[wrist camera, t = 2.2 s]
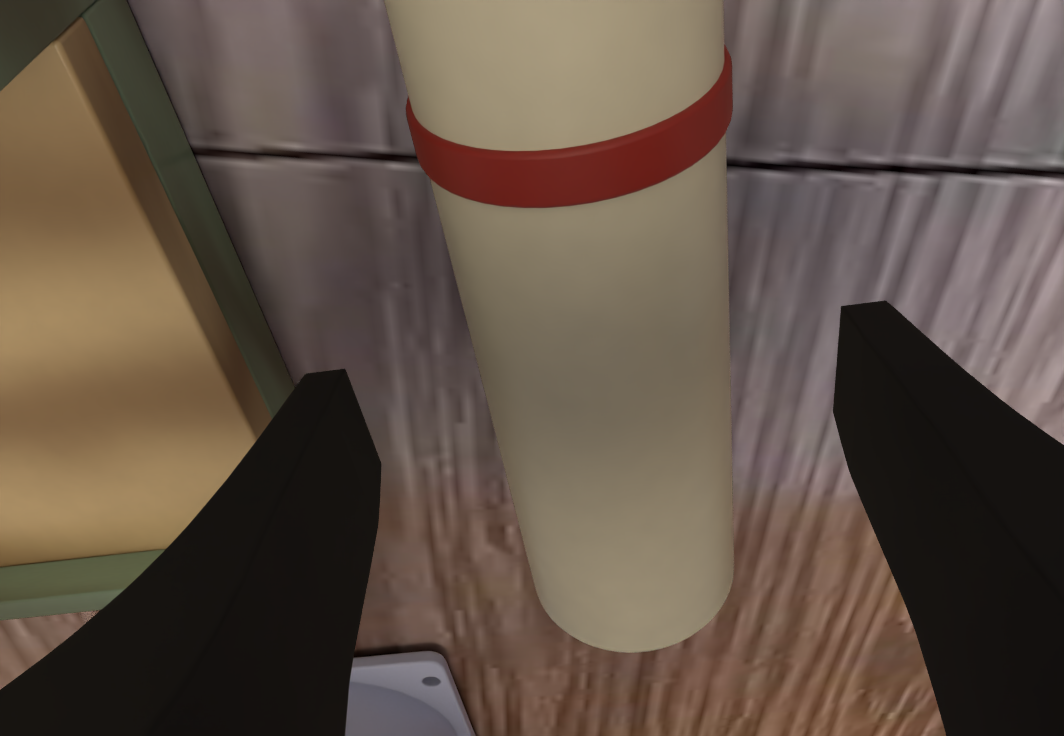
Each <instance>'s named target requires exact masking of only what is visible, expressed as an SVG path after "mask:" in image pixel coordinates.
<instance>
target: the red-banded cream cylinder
mask: <svg viewBox="0 0 1064 736" xmlns="http://www.w3.org/2000/svg"><path fill="white" fill-rule="evenodd" d="M384 3H385V7H386V10H387V14H388V18H389V22H390V26H391V30H392V34H393V38H394V42H395V45H396V49H397V53H398V57H399V61H400V65H401V69H402V73H403V76H404V80H405V84H406V88H407V92H408V99H407V104H406V116H407V121H408V125H409V128H410V132H411V136H412V140H413V144H414V147H415V151H416V155H417V158H418V161H419V163H420V166H421V168H422V169H423V170H424V171H425V173H426V174H427V175H428V176H429V178H430V181H431V185H432V189H433V193H434V197H435V201H436V205H437V209H438V212H439V216H440V220H441V224H442V228H443V232H444V236H445V240H446V243H447V247H448V251H449V255H450V259H451V263H452V267H453V271H454V275H455V278H456V282H457V286H458V290H459V294H460V298H461V302H462V306H463V309H464V313H465V317H466V321H467V325H468V329H469V333H470V337H471V341H472V344H473V348H474V352H475V356H476V360H477V364H478V368H479V372H480V376H481V379H482V383H483V387H484V391H485V395H486V399H487V403H488V407H489V410H490V414H491V418H492V422H493V426H494V430H495V434H496V438H497V442H498V445H499V449H500V453H501V457H502V461H503V465H504V469H505V473H506V476H507V480H508V484H509V488H510V492H511V496H512V500H513V504H514V508H515V511H516V515H517V519H518V523H519V527H520V531H521V535H522V539H523V543H524V546H525V550H526V554H527V558H528V562H529V566H530V570H531V574H532V577H533V581H534V585H535V589H536V592H537V595H538V598H539V600H540V602H541V604H542V606H543V608H544V610H545V611H546V612H547V614H548V615H549V616H550V618H551V619H552V620H553V621H554V622H555V623H556V624H557V625H558V626H559V627H560V628H561V629H563V630H564V631H565V632H567V633H568V634H569V635H571V636H572V637H574V638H576V639H578V640H580V641H582V642H584V643H586V644H589V645H591V646H594V647H597V648H601V649H604V650H608V651H616V652H634V653H637V652H646V651H653V650H657V649H662V648H665V647H668V646H671V645H674V644H677V643H679V642H681V641H683V640H685V639H687V638H689V637H690V636H692V635H693V634H695V633H696V632H698V631H699V630H701V629H702V628H703V627H704V626H705V625H706V624H708V623H709V622H710V621H711V620H712V618H713V617H714V616H715V615H716V614H717V613H718V611H719V610H720V608H721V607H722V605H723V604H724V602H725V601H726V598H727V596H728V594H729V592H730V589H731V585H732V581H733V575H734V533H733V481H732V428H731V376H730V323H729V271H728V219H727V166H726V130H727V128H728V126H729V123H730V121H731V117H732V111H733V92H732V61H731V56H730V54H729V52H728V50H727V48H726V46H725V44H724V9H723V0H384Z"/></svg>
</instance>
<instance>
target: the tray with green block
mask: <svg viewBox="0 0 1064 736" xmlns="http://www.w3.org/2000/svg"><path fill="white" fill-rule="evenodd" d="M294 389H295V387H294V385H293V383H292V381H291V378H290V376H289V374H288V371H287V369H286V367H285V364H284V362H283V360H282V357H281V355H280V353H279V351H278V348H277V346H276V344H275V341H274V339H273V337H272V334H271V332H270V330H269V328H268V325H267V323H266V321H265V318H264V316H263V314H262V311H261V309H260V307H259V305H258V302H257V300H256V298H255V295H254V293H253V291H252V288H251V286H250V284H249V282H248V279H247V277H246V275H245V272H244V270H243V268H242V265H241V263H240V261H239V259H238V256H237V254H236V252H235V249H234V247H233V245H232V242H231V240H230V238H229V236H228V233H227V231H226V229H225V226H224V224H223V222H222V219H221V217H220V215H219V213H218V210H217V208H216V206H215V203H214V201H213V199H212V196H211V194H210V192H209V190H208V187H207V185H206V183H205V180H204V178H203V176H202V173H201V171H200V169H199V167H198V164H197V162H196V160H195V157H194V155H193V153H192V150H191V148H190V146H189V144H188V141H187V139H186V137H185V134H184V132H183V130H182V127H181V125H180V123H179V121H178V118H177V116H176V114H175V111H174V109H173V107H172V104H171V102H170V100H169V98H168V95H167V93H166V91H165V88H164V86H163V84H162V81H161V79H160V77H159V75H158V72H157V70H156V68H155V65H154V63H153V61H152V58H151V56H150V54H149V52H148V49H147V47H146V45H145V42H144V40H143V38H142V35H141V33H140V31H139V29H138V26H137V24H136V22H135V19H134V17H133V15H132V12H131V10H130V8H129V6H128V3H127V1H126V0H0V620H9V619H19V618H29V617H38V616H48V615H57V614H67V613H77V612H86V611H96V610H102V609H103V608H104V607H105V606H106V605H107V604H108V603H110V602H111V601H112V600H113V599H114V598H115V597H116V596H118V595H119V594H120V593H121V592H122V591H123V590H124V589H126V588H127V587H128V586H129V585H130V584H131V583H132V582H133V581H134V580H135V579H136V578H137V577H138V576H139V575H140V574H141V573H142V572H143V571H144V570H145V569H146V568H147V567H148V566H149V565H150V564H151V563H152V562H153V561H154V560H155V559H157V558H158V557H159V556H160V555H161V554H162V553H163V552H164V551H165V549H166V548H167V547H168V546H169V545H170V544H171V543H172V542H173V541H174V540H175V539H176V538H177V537H178V536H179V535H180V534H181V532H182V531H183V530H184V529H185V528H186V527H187V526H188V525H189V524H190V522H191V521H192V520H193V519H194V518H195V517H196V515H197V514H198V513H199V512H200V511H201V509H202V508H203V507H204V506H205V505H206V503H207V502H208V501H209V500H210V499H211V498H212V496H213V495H214V494H215V493H216V492H217V490H218V489H219V488H220V487H221V486H222V484H223V483H224V482H225V481H226V480H227V478H228V477H229V476H230V474H231V473H232V472H233V471H234V469H235V468H236V467H237V465H238V464H239V463H240V461H241V460H242V459H243V457H244V456H245V455H246V454H247V452H248V451H249V450H250V448H251V447H252V446H253V444H254V443H255V442H256V440H257V439H258V438H259V436H260V435H261V434H262V432H263V431H264V430H265V428H266V427H267V425H268V424H269V423H270V421H271V420H272V419H273V417H274V416H275V414H276V413H277V412H278V410H279V409H280V408H281V406H282V405H283V404H284V402H285V401H286V399H287V398H288V397H289V395H290V394H291V393H292V391H293V390H294Z"/></svg>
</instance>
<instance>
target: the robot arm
mask: <svg viewBox="0 0 1064 736" xmlns="http://www.w3.org/2000/svg"><path fill="white" fill-rule="evenodd" d="M833 413H834V417H835V421H836V425H837V429H838V432H839V436H840V440H841V444H842V447H843V451H844V454H845V458H846V461H847V465H848V468H849V472H850V474H851V477H852V479H853V482H854V484H855V487H856V489H857V492H858V494H859V496H860V499H861V501H862V503H863V506H864V508H865V511H866V513H867V515H868V518H869V520H870V522H871V525H872V527H873V529H874V532H875V534H876V537H877V539H878V541H879V544H880V546H881V548H882V551H883V553H884V555H885V558H886V560H887V562H888V565H889V567H890V569H891V572H892V574H893V576H894V579H895V581H896V583H897V586H898V588H899V590H900V593H901V595H902V597H903V600H904V602H905V605H906V607H907V610H908V613H909V615H910V618H911V621H912V623H913V626H914V629H915V631H916V634H917V638H918V641H919V644H920V648H921V651H922V654H923V657H924V661H925V664H926V667H927V670H928V674H929V677H930V680H931V684H932V687H933V690H934V693H935V697H936V700H937V704H938V707H939V711H940V714H941V718H942V721H943V725H944V728H945V732H946V735H947V736H1064V445H1063V444H1061V443H1060V442H1058V441H1057V440H1055V439H1054V438H1052V437H1051V436H1050V435H1048V434H1047V433H1045V432H1044V431H1043V430H1041V429H1040V428H1038V427H1037V426H1036V425H1034V424H1033V423H1032V422H1030V421H1029V420H1027V419H1026V418H1025V417H1023V416H1022V415H1020V414H1019V413H1018V412H1016V411H1015V410H1014V409H1012V408H1011V407H1010V406H1009V405H1007V404H1006V403H1005V402H1003V401H1002V400H1001V399H1000V398H998V397H997V396H996V395H995V394H993V393H992V392H991V391H990V390H988V389H987V388H986V387H985V386H984V385H982V384H981V383H980V382H979V381H977V380H976V379H975V378H974V377H973V376H971V375H970V374H969V373H968V372H966V371H965V370H964V369H963V368H962V367H961V366H959V365H958V364H957V363H956V362H955V361H954V360H952V359H951V358H950V357H949V356H948V355H947V354H946V353H944V352H943V351H942V350H941V349H940V348H939V347H938V346H936V345H935V344H934V343H933V342H932V341H931V340H930V339H929V338H927V337H926V336H925V335H924V334H923V333H922V332H921V331H920V330H919V329H917V328H916V327H915V326H914V325H913V324H912V323H911V322H910V321H909V320H907V319H906V318H905V317H904V316H903V315H902V314H901V313H900V312H899V311H897V310H896V309H895V308H894V307H893V306H892V305H890V304H889V303H888V302H887V301H878V302H870V303H862V304H855V305H847V306H841V315H840V328H839V341H838V354H837V367H836V380H835V393H834V405H833ZM380 487H381V461H380V459H379V456H378V453H377V451H376V448H375V446H374V443H373V440H372V438H371V435H370V432H369V430H368V427H367V425H366V422H365V419H364V417H363V414H362V411H361V409H360V406H359V404H358V401H357V398H356V396H355V393H354V391H353V388H352V385H351V383H350V380H349V377H348V375H347V372H346V370H345V369H340V370H332V371H324V372H316V373H308V374H305V376H304V377H303V378H302V379H301V381H300V382H299V383H298V385H297V386H296V387H295V389H294V390H293V391H292V393H291V394H290V395H289V397H288V398H287V399H286V401H285V402H284V404H283V405H282V406H281V408H280V409H279V410H278V412H277V413H276V414H275V416H274V417H273V419H272V420H271V421H270V423H269V424H268V425H267V427H266V428H265V430H264V431H263V432H262V434H261V435H260V436H259V438H258V439H257V440H256V442H255V443H254V444H253V446H252V447H251V448H250V450H249V451H248V452H247V454H246V455H245V456H244V457H243V459H242V460H241V461H240V463H239V464H238V465H237V467H236V468H235V469H234V471H233V472H232V473H231V474H230V476H229V477H228V478H227V480H226V481H225V482H224V483H223V484H222V486H221V487H220V488H219V489H218V490H217V492H216V493H215V494H214V495H213V496H212V498H211V499H210V500H209V501H208V502H207V503H206V505H205V506H204V507H203V508H202V509H201V511H200V512H199V513H198V514H197V515H196V517H195V518H194V519H193V520H192V521H191V522H190V524H189V525H188V526H187V527H186V528H185V529H184V530H183V531H182V532H181V534H180V535H179V536H178V537H177V538H176V539H175V540H174V541H173V542H172V543H171V544H170V545H169V546H168V547H167V548H166V549H165V551H164V552H163V553H162V554H161V555H160V556H159V557H158V558H157V559H155V560H154V561H153V562H152V563H151V564H150V565H149V566H148V567H147V568H146V569H145V570H144V571H143V572H142V573H141V574H140V575H139V576H138V577H137V578H136V579H135V580H134V581H133V582H132V583H131V584H130V585H129V586H128V587H127V588H126V589H124V590H123V591H122V592H121V593H120V594H119V595H118V596H116V597H115V598H114V599H113V600H112V601H111V602H110V603H108V604H107V605H106V606H105V607H104V608H103V609H102V610H100V611H99V612H98V613H97V614H96V615H95V616H94V617H93V618H91V619H90V620H89V621H88V622H87V623H86V624H85V625H83V626H82V627H81V628H80V629H79V630H78V631H76V632H75V633H74V634H73V635H72V636H70V637H69V638H68V639H67V640H65V641H64V642H63V643H62V644H60V645H59V646H58V647H57V648H55V649H54V650H53V651H51V652H50V653H49V654H48V655H46V656H45V657H44V658H43V659H41V660H40V661H39V662H37V663H36V664H35V665H33V666H32V667H31V668H29V669H28V670H27V671H25V672H24V673H23V674H21V675H20V676H18V677H17V678H16V679H14V680H13V681H12V682H10V683H9V684H8V685H6V686H5V687H3V688H2V689H1V690H0V736H475V733H474V731H473V728H472V726H471V723H470V721H469V718H468V716H467V713H466V710H465V708H464V705H463V703H462V700H461V698H460V695H459V693H458V690H457V688H456V685H455V682H454V680H453V677H452V675H451V672H450V670H449V667H448V665H447V662H446V660H445V658H444V657H443V656H442V655H441V654H439V653H437V652H433V651H418V652H408V653H397V654H387V655H377V656H366V657H356V658H353V656H354V651H355V645H356V640H357V635H358V630H359V625H360V619H361V614H362V609H363V604H364V599H365V593H366V588H367V583H368V578H369V573H370V567H371V562H372V557H373V551H374V546H375V540H376V535H377V529H378V521H379V506H380Z"/></svg>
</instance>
